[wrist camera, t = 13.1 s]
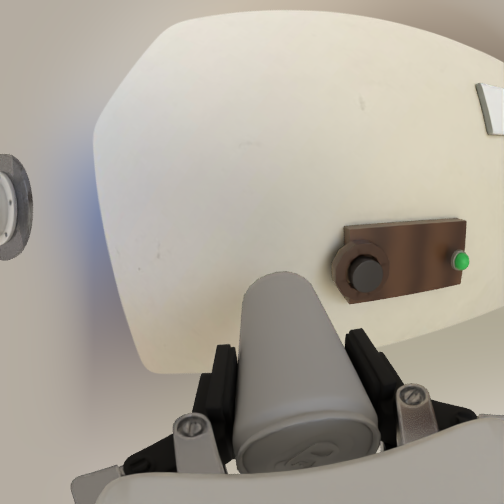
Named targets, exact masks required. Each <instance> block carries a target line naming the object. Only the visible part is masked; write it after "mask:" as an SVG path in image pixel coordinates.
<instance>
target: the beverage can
mask: <svg viewBox="0 0 504 504" xmlns="http://www.w3.org/2000/svg"><path fill="white" fill-rule="evenodd" d="M380 441H381V434H380V432H379V430H378V417H377V414H376V412H375V410H374V408H373V406H372V403H371V401H370V399H369V397H368V395H367V393H366V391H365V389H364V387H363V385H362V382H361V380H360V378H359V376H358V374H357V372H356V370H355V368H354V366H353V364H352V362H351V360H350V358H349V356H348V354H347V352H346V350H345V348H344V346H343V344H342V342H341V340H340V338H339V336H338V334H337V332H336V330H335V329H334V327H333V325H332V323H331V321H330V319H329V317H328V315H327V313H326V311H325V309H324V307H323V305H322V303H321V302H320V300H319V298H318V296H317V294H316V292H315V290H314V289H313V287H312V285H311V284H310V283H309V282H308V281H307V280H306V279H305V278H304V277H302V276H300V275H298V274H296V273H292V272H287V271H285V272H275V273H271V274H268V275H265V276H263V277H261V278H260V279H258V280H256V281H255V282H254V283H253V284H252V285H250V286H249V288H248V290H247V291H246V293H245V295H244V298H243V302H242V313H241V327H240V340H239V354H238V367H237V381H236V395H235V410H234V424H233V449H234V454H235V456H236V465H237V470H238V471H239V472H240V474H254V473H270V472H281V471H290V470H298V469H306V468H312V467H318V466H324V465H330V464H335V463H340V462H344V461H349V460H353V459H357V458H361V457H365V456H369V455H373V454H376V452H377V450H378V448H379V446H380Z"/></svg>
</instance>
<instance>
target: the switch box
mask: <svg viewBox="0 0 504 504" xmlns="http://www.w3.org/2000/svg"><path fill="white" fill-rule="evenodd" d="M465 238H466V221H465V220H462V219H458V218H453V219H437V220H421V221H406V222H392V223H378V224H365V225H352V226H344V246H343V247H342V248H340V249H339V250H338V252H337V254H336V256H335V258H334V260H333V262H332V280H333V281H334V283H335V284H336V286H337V288H338V289H339V291H340V292H341V293H342V295H343V296H344V298H345V299H346V300H347V302H348V303H349V304H355V303H361V302H368V301H374V300H380V299H386V298H392V297H398V296H403V295H409V294H414V293H419V292H424V291H429V290H434V289H439V288H444V287H449V286H453V285H458V284H460V283H461V277H462V270H455V269H453V268H452V266H451V257H452V255H453V253H454V252H455V251H456V250H463V251H465ZM361 256H368V257H371V258H372V259H374V260H375V261H376V262H378V263H379V264H380V265H381V267H382V270H383V278H382V281H381V283H380V285H379V286H378V287H377V288H376V289H375V290H373V291H371V292H368V293H363V292H360V291H358V290H357V289H356V288H355V287H354V286H353V285H352V284H351V283H350V281H349V279H348V269H349V266H350V265H351V263H352V262H353V261H354V260H355V259H356V258H358V257H361Z"/></svg>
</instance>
